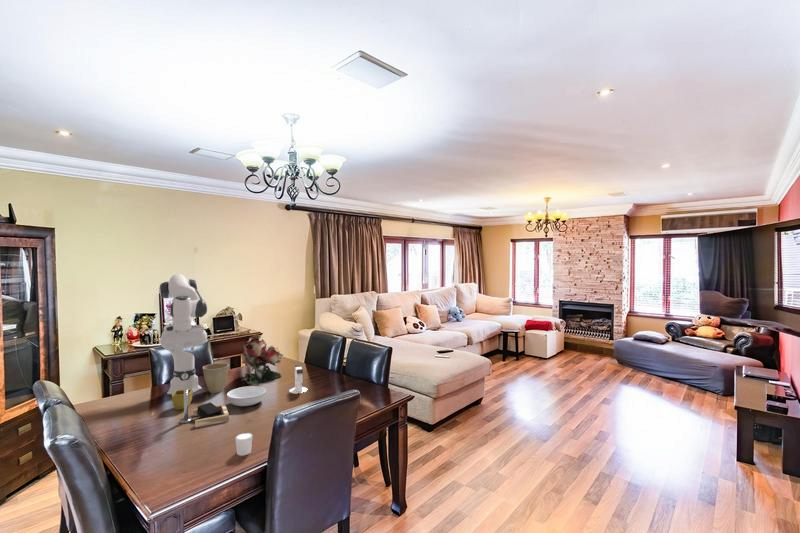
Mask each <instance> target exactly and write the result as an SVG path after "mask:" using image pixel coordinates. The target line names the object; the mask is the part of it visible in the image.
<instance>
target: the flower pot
mask: <svg viewBox="0 0 800 533" xmlns="http://www.w3.org/2000/svg"><path fill="white" fill-rule="evenodd" d="M193 394H194V392H193V389H188V407H189V406H190V405H191V402H192V400H193ZM171 401H172V405H173V408H175V410H177V411H179V410H180V411H181V410H184V390H177V391H175V392H174V393H173V395H172V394H171Z"/></svg>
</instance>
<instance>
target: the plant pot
mask: <svg viewBox="0 0 800 533" xmlns="http://www.w3.org/2000/svg"><path fill="white" fill-rule="evenodd" d="M229 367H230V365H229V363H226V362H216V363H210V364H207V365H203V366H202V371H203V376H204V377H203V378H204V381H205V384H206V386H207V389H208V393H210V394H216V393H217V394H218V393H222V392H223V390H224V387H225V385H226V382H227V378H228V372H229Z"/></svg>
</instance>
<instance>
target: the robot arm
mask: <svg viewBox="0 0 800 533" xmlns="http://www.w3.org/2000/svg"><path fill="white" fill-rule="evenodd" d="M158 293H159V295H160V297H161V298H162V299H163V298H164V299H172V300H171V304H170V305H169V312H170V313H169V315H170V317H171V319H172V320H171V322H172V323H169V324H167V325H164V327H163V331H162V333H161V336H160V339H159V343H160V346H161V347H162V348H163V349H165V350H166V351H168V352H169V353H170V354H171V355H172V358H173V366H174V367H173V368H174V369H173V373H172V374H173V378H171V380H170V382H169V384H170V386H169V389H168V390H167V392H166V394H167V395H171V396H172V395H173V393H174V392H175V391H177V390H188V389H193V393H195V392H197V391H200V390H202V386H201V385H199V377H198V375H196V368H195V355H194V354H193V353H191V352H188V351H185V350H184V348H189V347H190V351H195V347H197V346H200V345H204V344H205V342H207V339H208V332H206V330H205V327H204V325H202V324H196V323H195V321H194V318H203V317H204V316H205V315H206V314H207V312H208V304H207V303H206V301H205V300H204V299H203V298H202V296H201V294H200V292H199V284H198V282H197V281H196V280H195V279H188V278H186V276H185V275H184V274H181V273H176V274H173V275H171V277H170V279H169V281H164V282H162V283H160V285H159V287H158Z"/></svg>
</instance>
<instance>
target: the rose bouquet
mask: <svg viewBox="0 0 800 533" xmlns="http://www.w3.org/2000/svg"><path fill="white" fill-rule="evenodd" d="M263 338H264V337H263V336H262V335H260V334H259V335H257V334H255V335H253V336H250V337H249V340H247V341H246V344H244V345H243V347H242V348H243V353H242V354H241V360H242V362H241V364H244V365H247V366H249V367H251V370H250V373H249V372H248V373H244V377H242V378H241V380H240V381H241V382H242V381H246V383H247V384H248V385H250V386H258V385H260V384H264V383H267V382H270V381H272V380H276V379H278V378H279V377H282V374H281V372H278V371H274V370H271V368H270V366H269V365H272V366H275V367H276V366H278V367H279V365H277V364H280V363H281V362H282V358H283V357H284V355H283V354H282V353H280V352H281V349H279V347H278V346H275V345H269V346H267V345H268V343H266V340H264V339H263ZM262 366H263V368H261V367H262ZM260 368H261V369H260ZM253 370H254V372H253ZM252 372H253V373H252Z"/></svg>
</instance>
